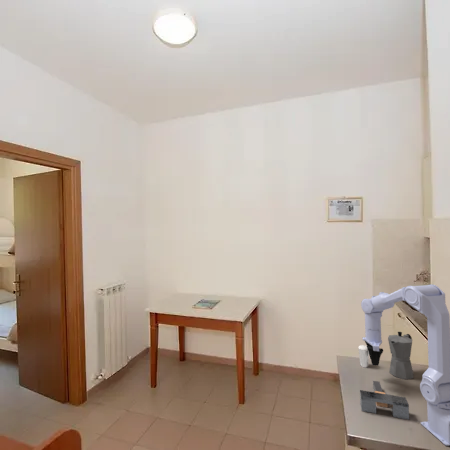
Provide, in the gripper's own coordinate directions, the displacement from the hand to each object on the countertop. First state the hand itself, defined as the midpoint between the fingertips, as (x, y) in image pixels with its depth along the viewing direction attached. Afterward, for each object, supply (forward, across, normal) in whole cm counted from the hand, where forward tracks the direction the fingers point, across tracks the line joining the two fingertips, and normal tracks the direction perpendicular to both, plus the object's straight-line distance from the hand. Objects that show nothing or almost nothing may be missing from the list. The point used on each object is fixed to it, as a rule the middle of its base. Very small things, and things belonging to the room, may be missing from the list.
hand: (374, 362), depth 113 cm
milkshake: (+9, -14, -2) cm, 17 cm away
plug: (+8, +10, 0) cm, 13 cm away
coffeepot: (+9, -12, +12) cm, 19 cm away
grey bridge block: (+8, +19, 0) cm, 21 cm away
